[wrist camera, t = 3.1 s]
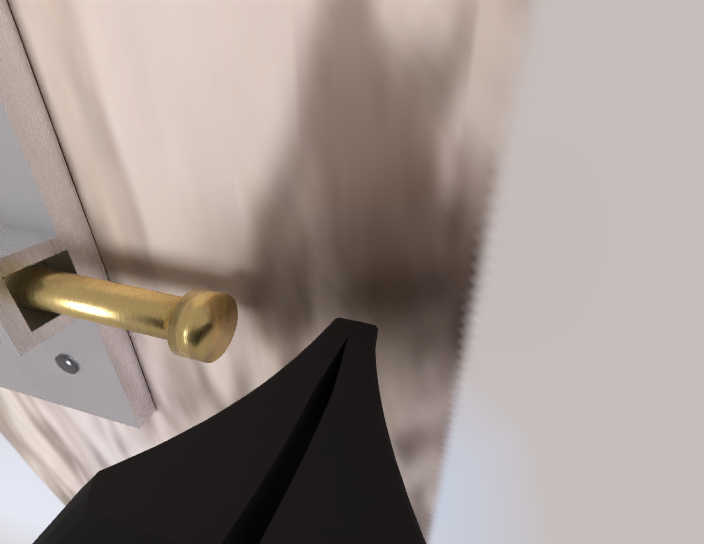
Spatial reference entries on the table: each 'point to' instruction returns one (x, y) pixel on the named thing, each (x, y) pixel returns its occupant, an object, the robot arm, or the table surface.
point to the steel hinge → (52, 263)
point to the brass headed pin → (133, 309)
